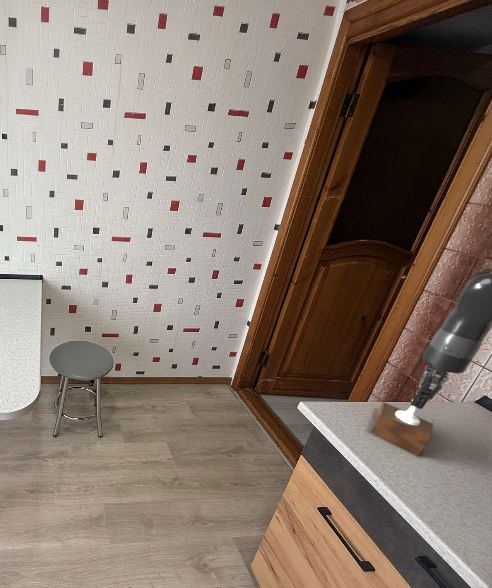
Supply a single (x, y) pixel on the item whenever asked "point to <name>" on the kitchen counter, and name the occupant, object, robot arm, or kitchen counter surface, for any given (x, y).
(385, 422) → the wood grain box
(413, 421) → the chess piece
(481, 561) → the kitchen counter surface
